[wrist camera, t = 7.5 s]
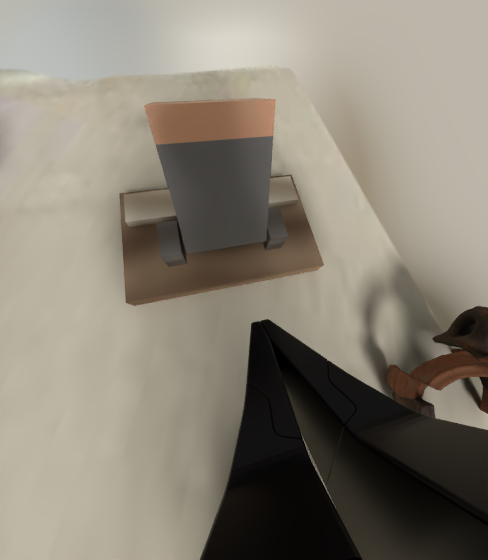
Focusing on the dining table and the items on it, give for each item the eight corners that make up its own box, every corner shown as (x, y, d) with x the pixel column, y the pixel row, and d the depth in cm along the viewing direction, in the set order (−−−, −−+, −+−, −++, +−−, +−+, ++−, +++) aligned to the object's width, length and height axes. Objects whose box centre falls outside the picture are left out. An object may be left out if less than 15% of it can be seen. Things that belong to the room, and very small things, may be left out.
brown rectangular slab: (316, 270, 20) (337, 255, 16) (134, 305, 17) (109, 297, 13) (287, 185, 23) (298, 156, 19) (127, 203, 20) (105, 174, 16)
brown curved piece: (494, 446, 17) (625, 560, 9) (369, 403, 21) (393, 460, 13) (507, 313, 17) (641, 321, 10) (384, 296, 21) (414, 292, 14)
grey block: (267, 251, 16) (279, 99, 10) (188, 265, 15) (139, 105, 9) (254, 228, 19) (257, 98, 12) (187, 239, 18) (149, 102, 11)
